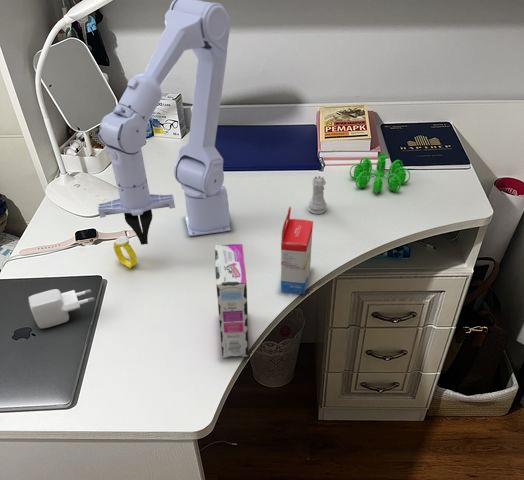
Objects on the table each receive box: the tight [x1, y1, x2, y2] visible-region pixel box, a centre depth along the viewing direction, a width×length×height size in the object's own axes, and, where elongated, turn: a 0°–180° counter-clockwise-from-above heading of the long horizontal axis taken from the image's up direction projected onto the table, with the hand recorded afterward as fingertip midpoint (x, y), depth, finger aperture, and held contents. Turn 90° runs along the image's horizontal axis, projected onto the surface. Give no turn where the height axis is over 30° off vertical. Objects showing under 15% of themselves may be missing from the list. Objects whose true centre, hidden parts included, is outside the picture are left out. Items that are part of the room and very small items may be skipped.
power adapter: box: [28, 288, 95, 329], centre depth 100 cm, size 11×5×6 cm, turn 115°
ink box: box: [280, 205, 314, 295], centre depth 103 cm, size 8×5×15 cm, turn 168°
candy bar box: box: [214, 243, 250, 359], centre depth 92 cm, size 11×5×16 cm, turn 5°
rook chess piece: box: [307, 175, 327, 215], centre depth 125 cm, size 4×4×8 cm
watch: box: [113, 236, 138, 269], centre depth 111 cm, size 6×3×6 cm, turn 47°
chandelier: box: [349, 153, 411, 194], centre depth 134 cm, size 15×15×7 cm
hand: (144, 241), depth 111 cm, fingers closed
